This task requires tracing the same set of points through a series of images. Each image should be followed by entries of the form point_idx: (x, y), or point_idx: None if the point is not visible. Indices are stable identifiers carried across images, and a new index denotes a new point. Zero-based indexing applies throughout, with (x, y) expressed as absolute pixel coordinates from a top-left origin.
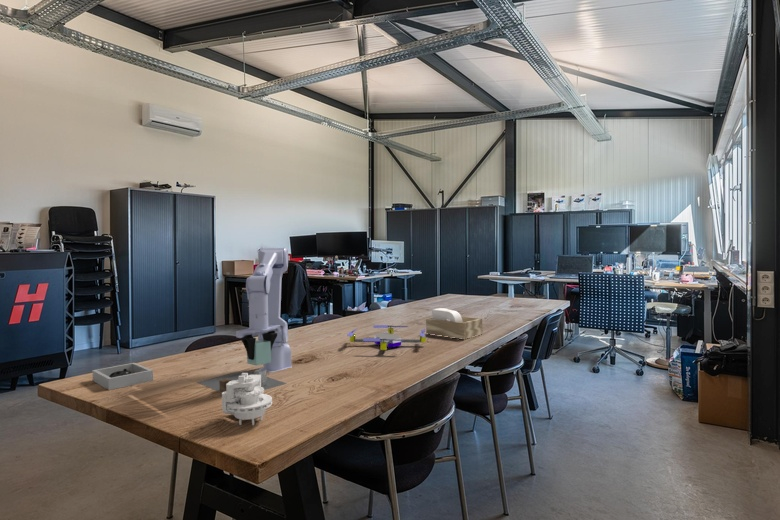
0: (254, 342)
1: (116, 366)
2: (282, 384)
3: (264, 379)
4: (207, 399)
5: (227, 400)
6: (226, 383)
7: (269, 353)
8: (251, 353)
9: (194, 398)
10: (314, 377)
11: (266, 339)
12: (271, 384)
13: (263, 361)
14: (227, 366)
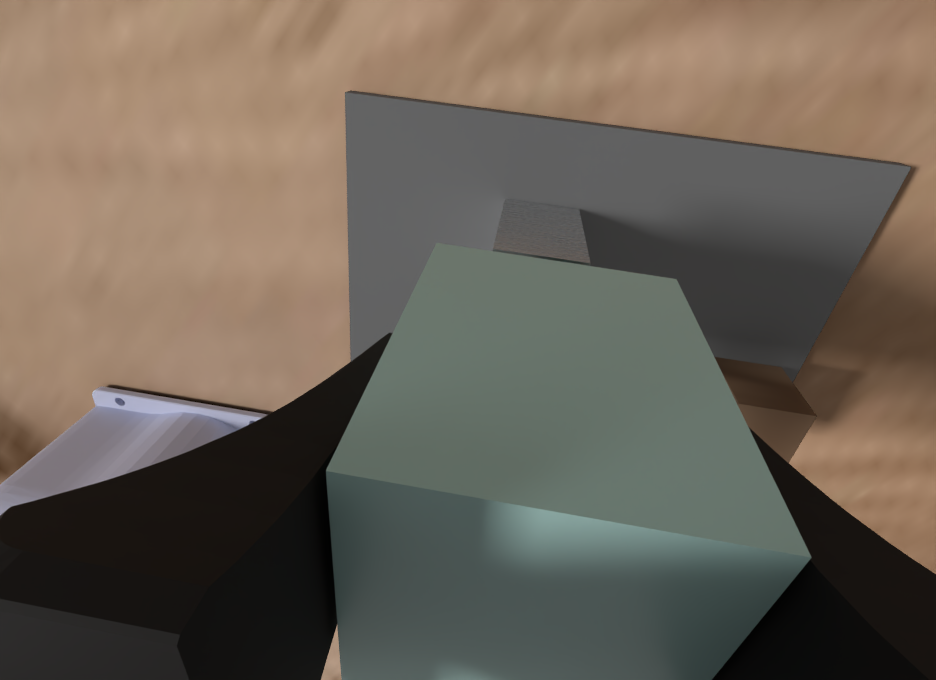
0: (874, 614)
1: None
2: (394, 103)
3: (525, 220)
4: (931, 362)
5: None
6: (783, 400)
7: (434, 309)
8: (766, 445)
9: (928, 444)
10: (43, 52)
11: (313, 611)
12: (454, 195)
13: (562, 276)
14: None
